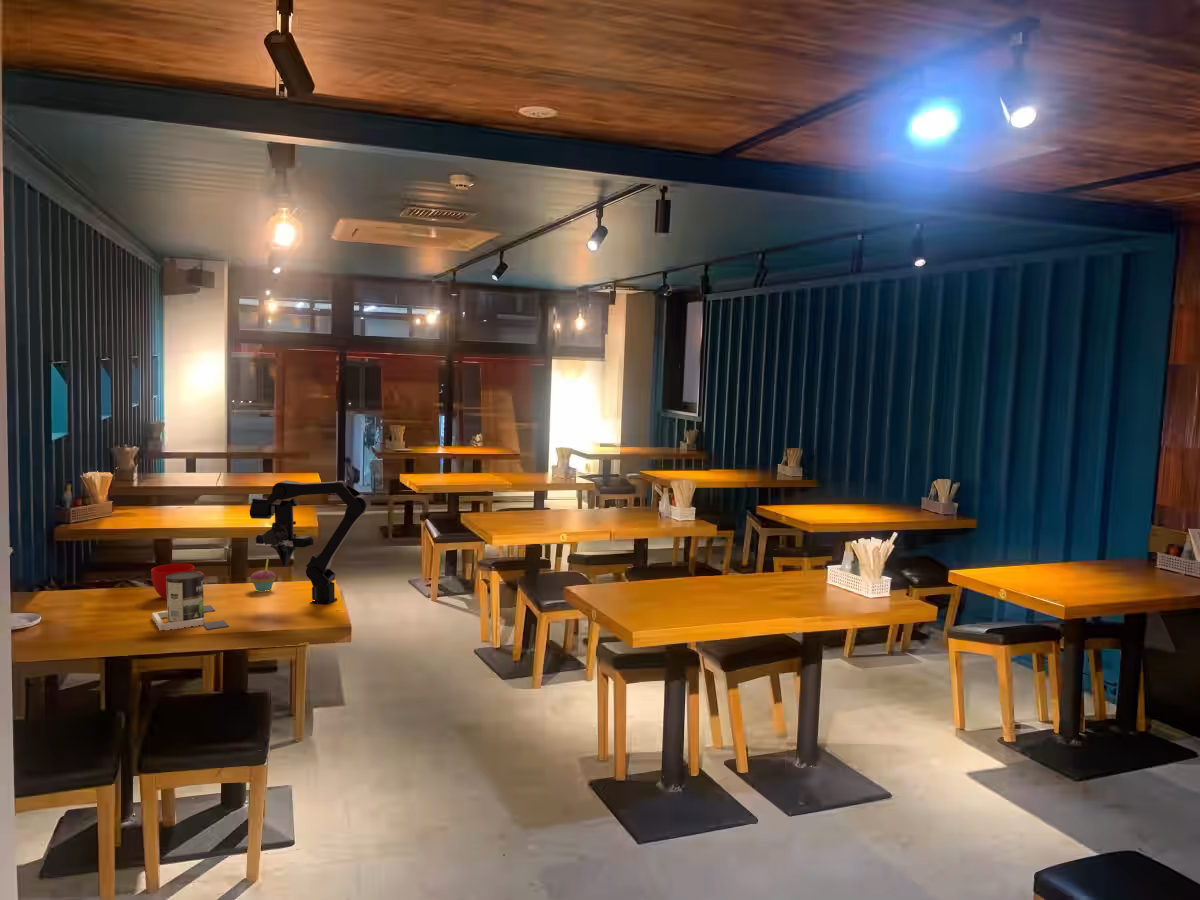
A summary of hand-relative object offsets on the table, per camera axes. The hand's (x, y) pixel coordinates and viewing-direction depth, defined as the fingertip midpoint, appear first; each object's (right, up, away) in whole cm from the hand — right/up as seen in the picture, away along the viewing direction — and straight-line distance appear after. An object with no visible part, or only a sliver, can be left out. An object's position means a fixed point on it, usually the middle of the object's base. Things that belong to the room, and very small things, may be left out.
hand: (284, 565), depth 287 cm
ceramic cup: (-37, -11, +4) cm, 39 cm away
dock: (-24, -14, -24) cm, 37 cm away
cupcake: (-13, -11, +14) cm, 22 cm away
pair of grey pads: (-17, -14, -19) cm, 28 cm away
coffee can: (-22, -14, -22) cm, 34 cm away
